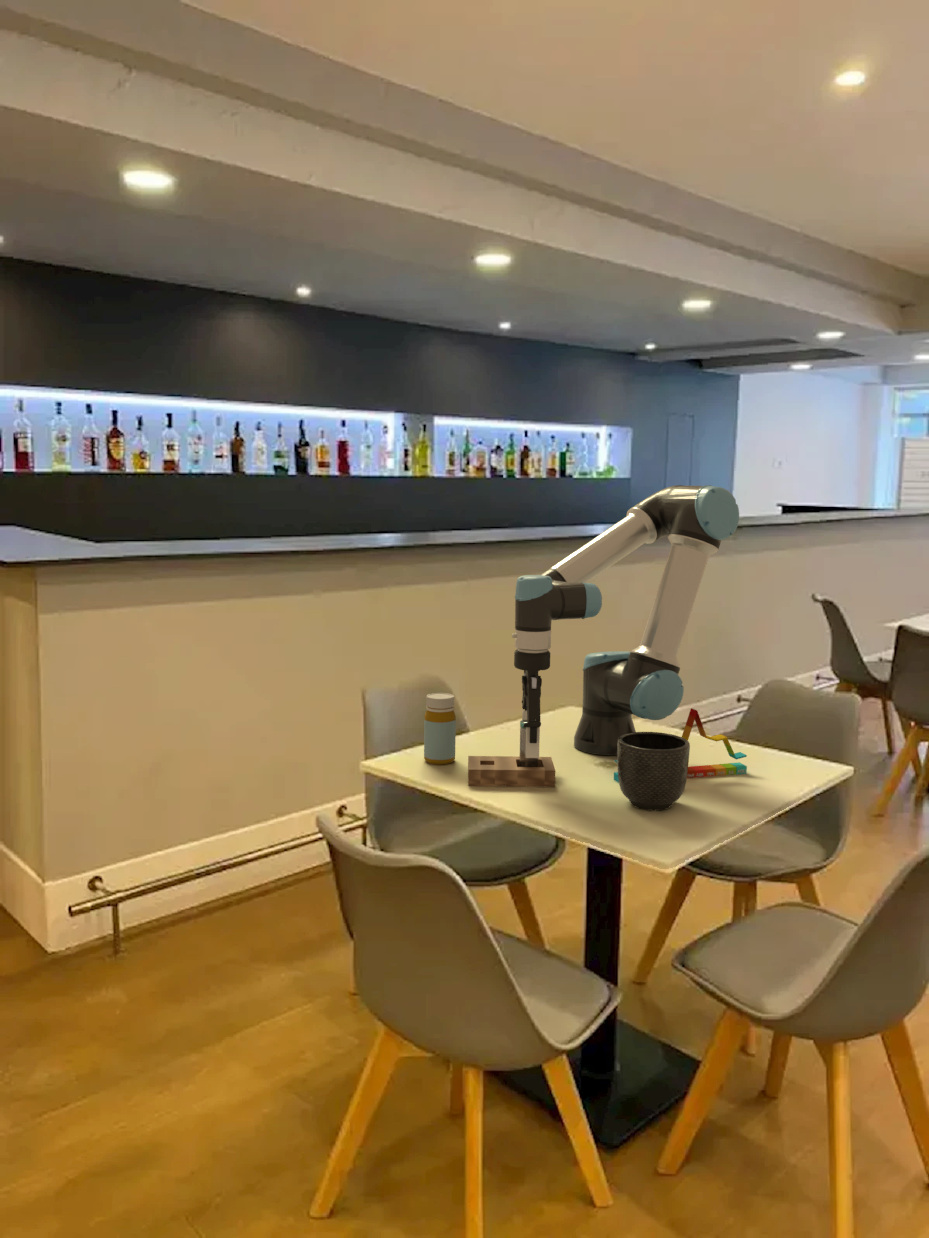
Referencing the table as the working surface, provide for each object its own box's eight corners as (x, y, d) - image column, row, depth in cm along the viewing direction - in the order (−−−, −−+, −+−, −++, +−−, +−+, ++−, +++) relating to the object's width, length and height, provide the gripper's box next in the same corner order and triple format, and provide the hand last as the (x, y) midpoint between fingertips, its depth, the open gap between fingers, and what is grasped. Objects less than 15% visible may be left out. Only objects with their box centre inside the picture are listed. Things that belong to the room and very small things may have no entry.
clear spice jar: (537, 774, 209) (538, 719, 208) (538, 779, 205) (540, 724, 203) (518, 773, 209) (519, 719, 208) (519, 779, 205) (520, 724, 203)
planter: (700, 812, 188) (703, 747, 186) (634, 818, 184) (637, 752, 182) (665, 790, 201) (668, 729, 199) (603, 795, 197) (605, 733, 195)
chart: (620, 785, 205) (622, 715, 203) (613, 780, 208) (616, 712, 206) (747, 775, 214) (750, 708, 211) (739, 770, 217) (742, 704, 214)
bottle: (456, 757, 223) (457, 693, 221) (453, 766, 216) (454, 699, 214) (426, 755, 224) (426, 691, 221) (422, 764, 217) (422, 698, 215)
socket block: (550, 772, 212) (551, 756, 212) (555, 786, 202) (555, 770, 202) (468, 771, 212) (468, 755, 212) (468, 785, 202) (468, 769, 202)
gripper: (511, 639, 216) (509, 732, 219) (517, 660, 191) (515, 765, 194) (545, 640, 216) (543, 733, 219) (556, 660, 191) (553, 765, 194)
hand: (530, 748), depth 206 cm, fingers open, 13 cm apart
